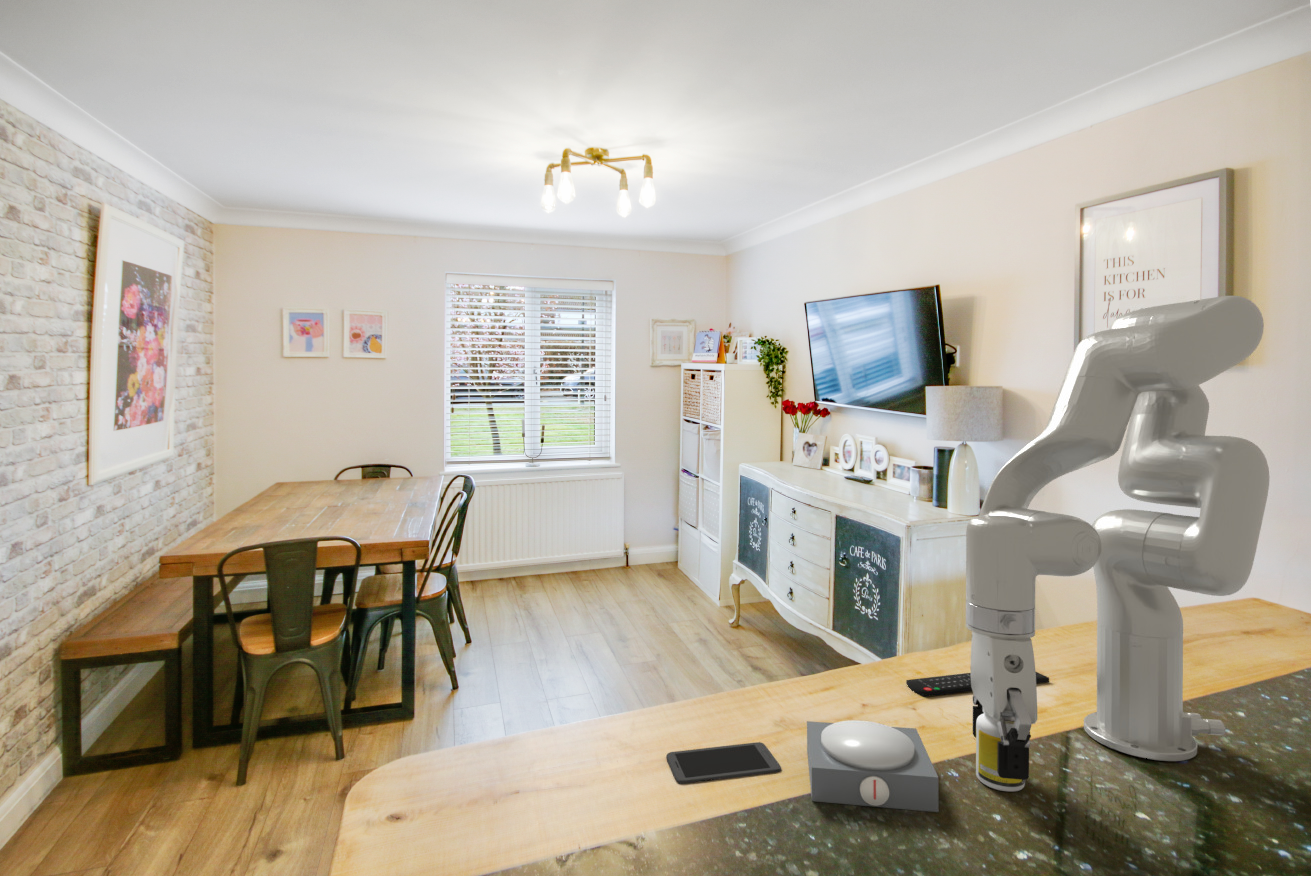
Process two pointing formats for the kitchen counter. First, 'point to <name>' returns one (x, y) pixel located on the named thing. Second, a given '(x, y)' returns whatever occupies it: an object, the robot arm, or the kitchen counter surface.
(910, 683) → the remote control
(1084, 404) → the robot arm
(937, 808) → the kitchen scale
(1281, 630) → the kitchen counter surface
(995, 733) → the supplement bottle
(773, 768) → the cell phone
